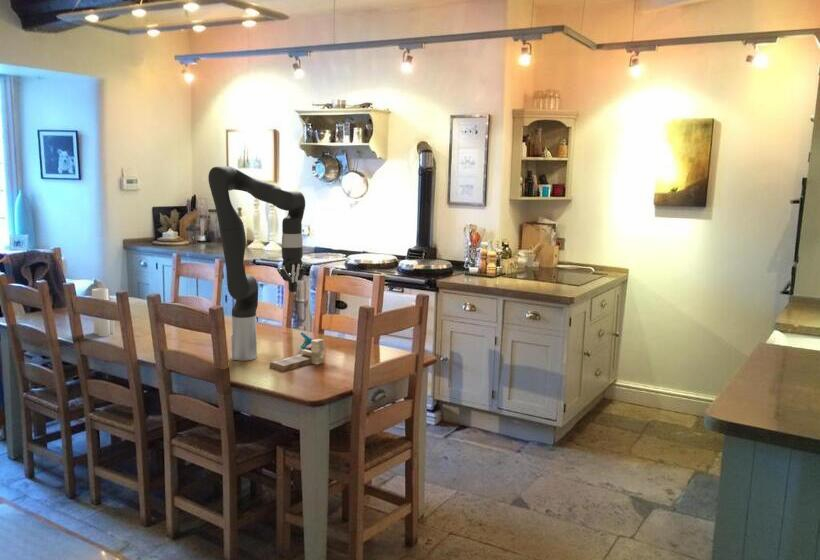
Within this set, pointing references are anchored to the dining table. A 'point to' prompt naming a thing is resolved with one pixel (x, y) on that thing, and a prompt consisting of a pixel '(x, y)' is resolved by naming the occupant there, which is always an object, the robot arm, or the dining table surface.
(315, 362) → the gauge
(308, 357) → the board
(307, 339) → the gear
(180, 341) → the dining table surface
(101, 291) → the vase
